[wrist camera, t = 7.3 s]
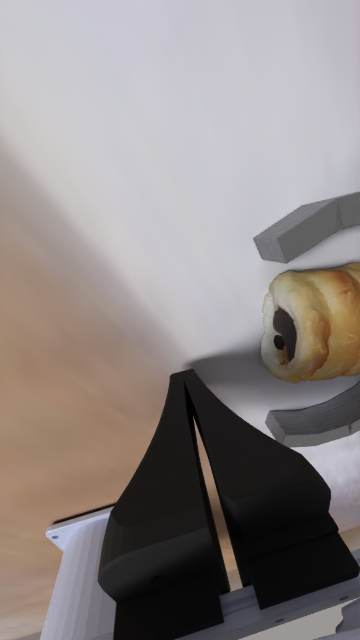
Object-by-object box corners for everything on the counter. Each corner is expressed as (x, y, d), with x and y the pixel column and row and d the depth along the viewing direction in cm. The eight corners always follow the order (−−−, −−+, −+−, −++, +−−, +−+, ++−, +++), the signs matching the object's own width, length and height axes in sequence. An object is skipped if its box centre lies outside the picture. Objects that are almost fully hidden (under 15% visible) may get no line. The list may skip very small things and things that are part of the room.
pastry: (409, 249, 12) (521, 254, 8) (375, 346, 14) (448, 382, 11) (258, 270, 11) (310, 285, 7) (253, 369, 13) (289, 415, 10)
